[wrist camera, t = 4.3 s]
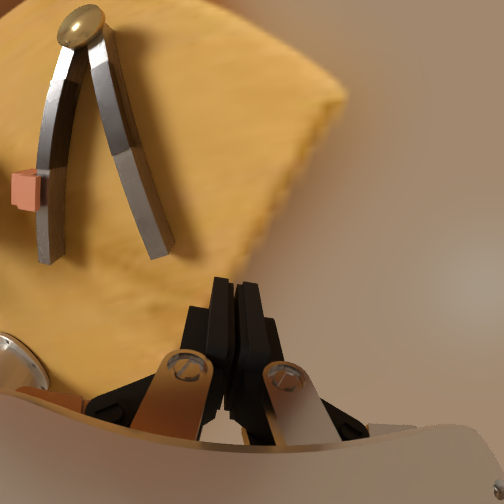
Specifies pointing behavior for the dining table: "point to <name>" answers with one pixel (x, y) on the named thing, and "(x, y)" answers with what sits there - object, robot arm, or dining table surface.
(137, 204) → the tongs moving arm
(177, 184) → the dining table surface
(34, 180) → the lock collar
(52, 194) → the tongs fixed arm
